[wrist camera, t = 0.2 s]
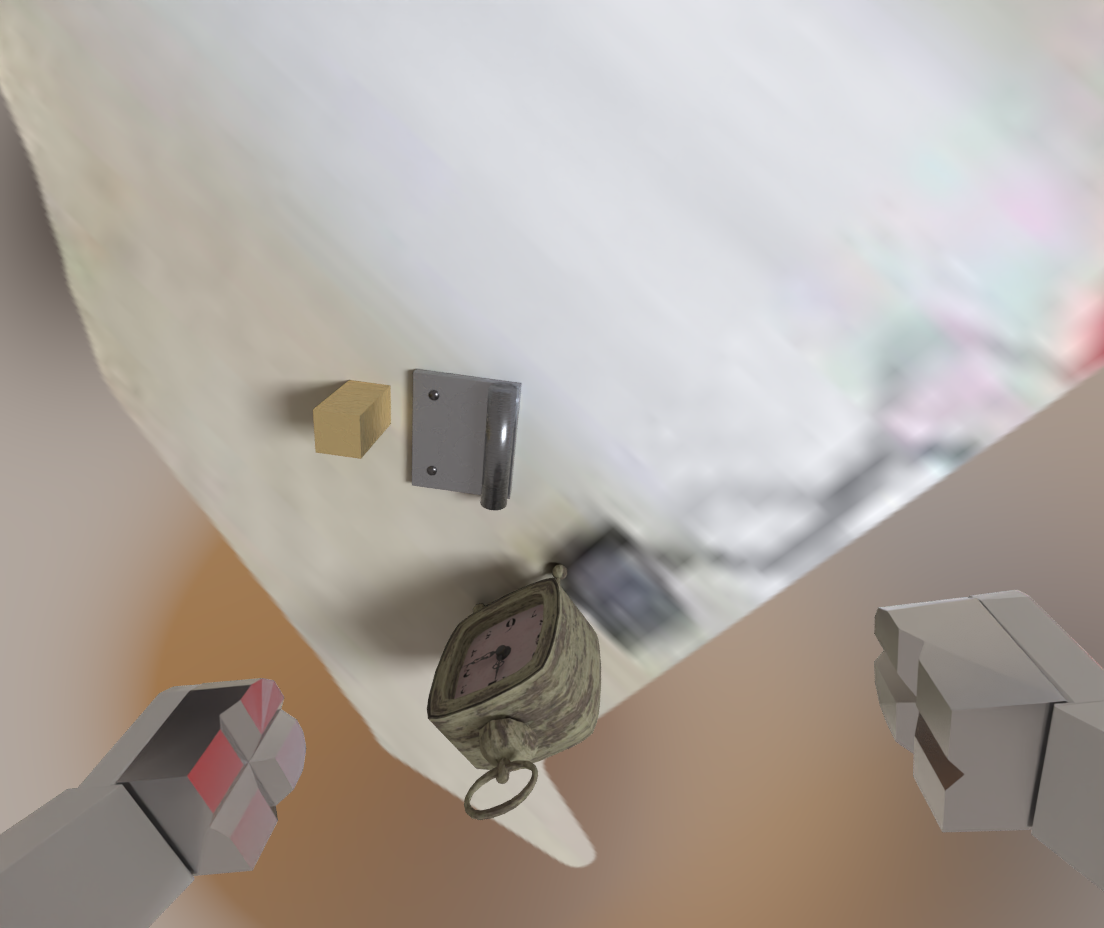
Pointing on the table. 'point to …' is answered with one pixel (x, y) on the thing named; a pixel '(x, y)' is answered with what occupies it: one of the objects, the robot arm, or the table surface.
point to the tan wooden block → (352, 419)
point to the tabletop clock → (518, 684)
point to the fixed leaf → (465, 434)
